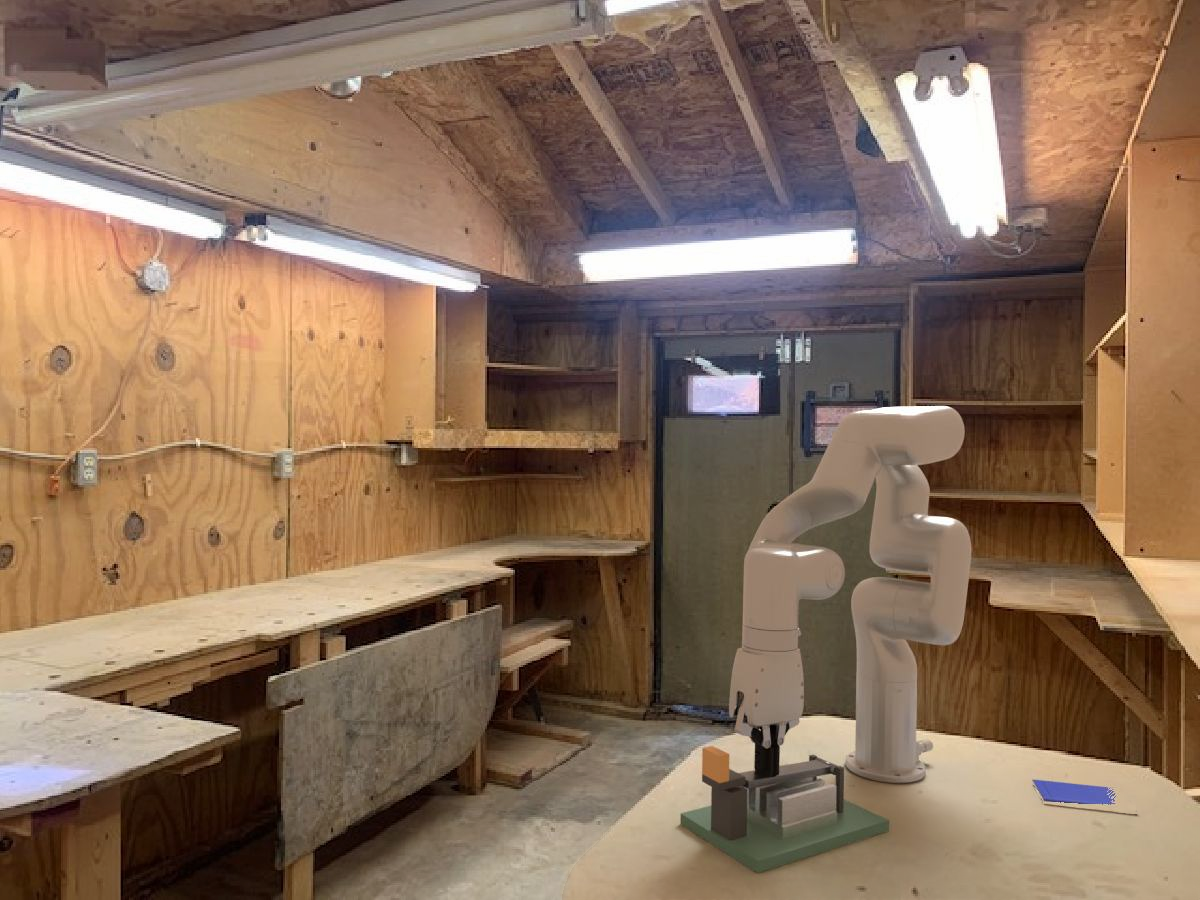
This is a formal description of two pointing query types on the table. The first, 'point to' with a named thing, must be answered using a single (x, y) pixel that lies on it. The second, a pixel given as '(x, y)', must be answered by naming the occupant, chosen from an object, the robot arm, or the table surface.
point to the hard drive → (1073, 793)
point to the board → (767, 850)
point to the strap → (790, 773)
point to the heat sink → (792, 806)
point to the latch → (719, 770)
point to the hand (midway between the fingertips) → (766, 772)
